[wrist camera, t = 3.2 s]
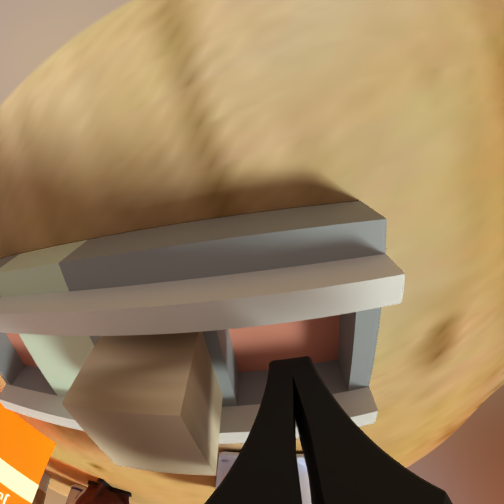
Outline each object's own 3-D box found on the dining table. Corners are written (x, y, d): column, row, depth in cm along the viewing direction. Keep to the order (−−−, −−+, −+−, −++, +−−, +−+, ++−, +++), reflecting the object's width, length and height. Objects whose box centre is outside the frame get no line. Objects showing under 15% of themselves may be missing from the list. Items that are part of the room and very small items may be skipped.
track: (360, 200, 11) (408, 234, 7) (351, 379, 15) (370, 435, 11) (-25, 264, 12) (-64, 293, 8) (37, 383, 16) (14, 419, 12)
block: (200, 324, 10) (180, 415, 6) (222, 396, 12) (215, 475, 8) (105, 329, 10) (61, 403, 6) (139, 395, 12) (116, 465, 8)
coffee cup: (6, 447, 25) (-22, 509, 11) (39, 464, 25) (12, 535, 11) (31, 471, 28) (10, 528, 14) (65, 486, 28) (45, 550, 14)
